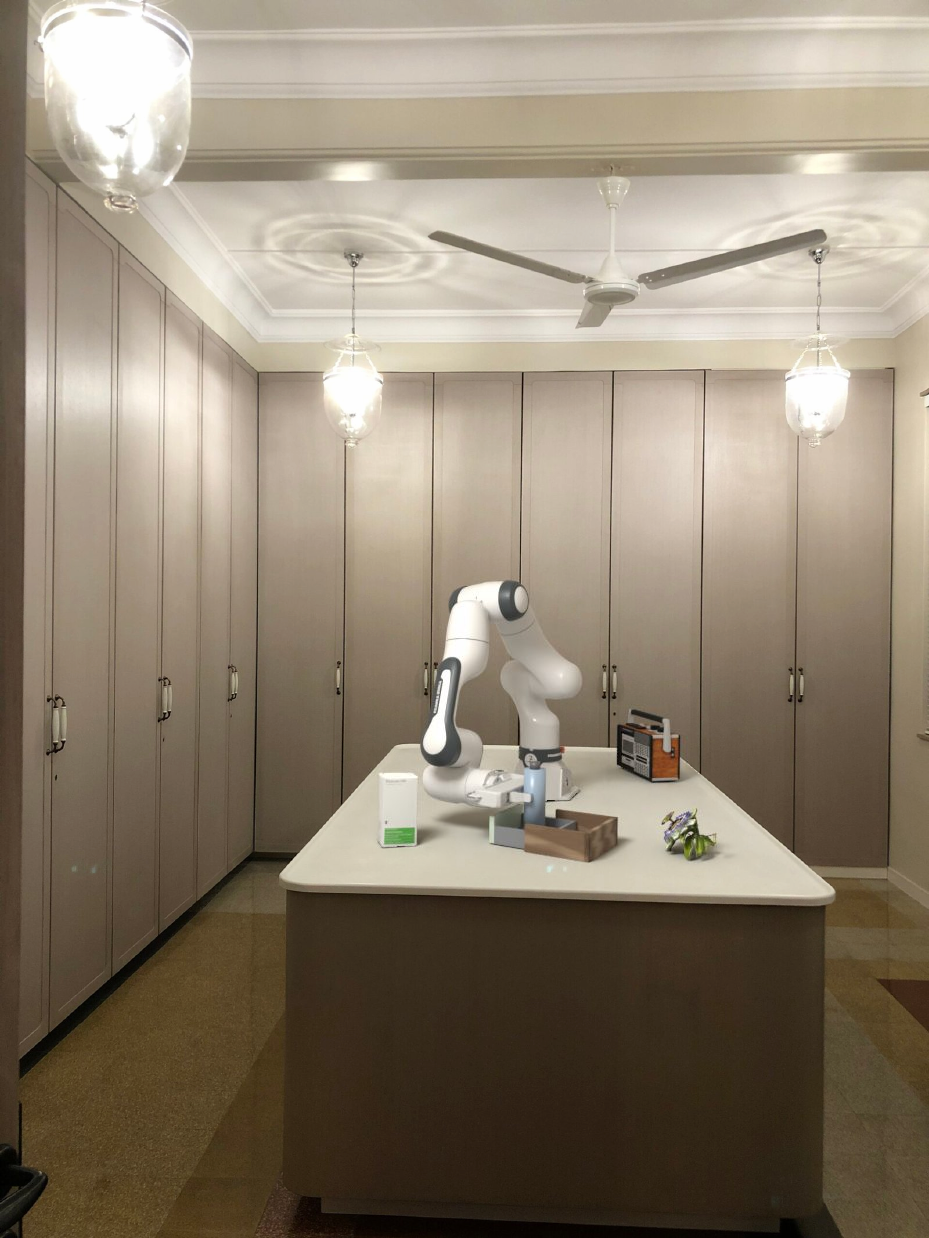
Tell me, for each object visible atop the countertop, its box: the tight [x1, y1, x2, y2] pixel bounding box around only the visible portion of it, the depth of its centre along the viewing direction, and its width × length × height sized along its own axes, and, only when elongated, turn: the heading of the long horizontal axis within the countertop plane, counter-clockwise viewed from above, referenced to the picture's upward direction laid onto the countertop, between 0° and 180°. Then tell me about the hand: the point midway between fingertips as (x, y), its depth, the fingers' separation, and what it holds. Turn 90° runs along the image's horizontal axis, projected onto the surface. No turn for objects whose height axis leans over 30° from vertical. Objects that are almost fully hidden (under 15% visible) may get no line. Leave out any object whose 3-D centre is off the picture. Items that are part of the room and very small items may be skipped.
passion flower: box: [661, 807, 717, 862], centre depth 188 cm, size 11×11×12 cm
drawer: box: [488, 803, 576, 850], centre depth 196 cm, size 15×15×6 cm
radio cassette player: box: [616, 708, 681, 783], centre depth 279 cm, size 29×10×20 cm, turn 12°
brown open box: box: [523, 808, 619, 863], centre depth 192 cm, size 17×15×6 cm
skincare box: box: [376, 772, 419, 848], centre depth 194 cm, size 8×7×16 cm
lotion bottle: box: [523, 761, 547, 830], centre depth 196 cm, size 5×5×16 cm
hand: (538, 795), depth 196 cm, fingers closed on lotion bottle, 5 cm apart
